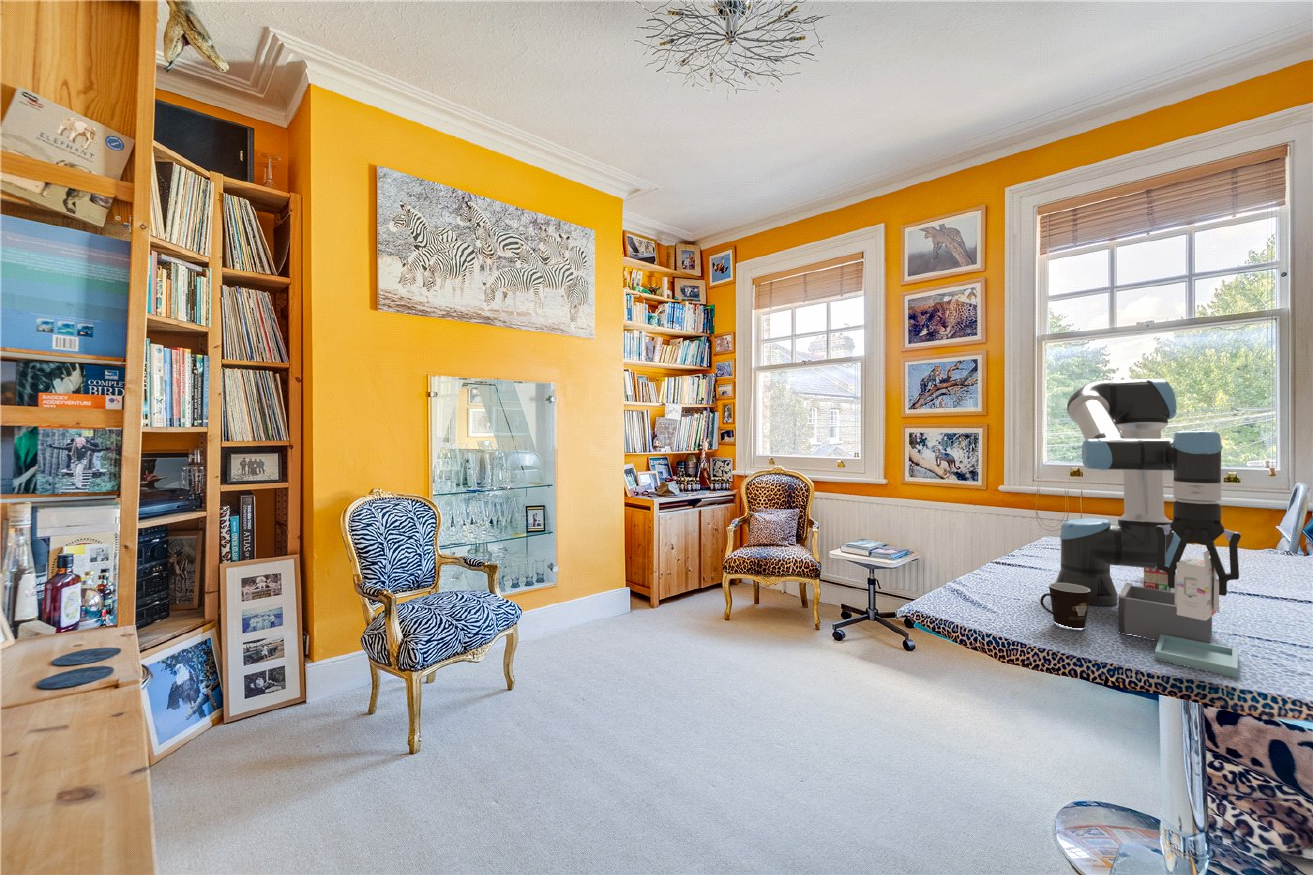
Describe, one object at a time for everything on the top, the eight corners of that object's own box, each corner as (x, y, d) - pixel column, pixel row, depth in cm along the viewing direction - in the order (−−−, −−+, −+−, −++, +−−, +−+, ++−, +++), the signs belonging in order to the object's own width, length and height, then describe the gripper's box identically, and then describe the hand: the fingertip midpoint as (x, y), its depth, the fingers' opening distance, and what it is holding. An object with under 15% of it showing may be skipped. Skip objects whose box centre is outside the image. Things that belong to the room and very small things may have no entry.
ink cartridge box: (1186, 607, 127) (1187, 543, 126) (1216, 613, 123) (1218, 547, 122) (1174, 614, 122) (1175, 548, 122) (1205, 621, 118) (1207, 552, 117)
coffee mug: (1082, 622, 146) (1082, 584, 146) (1096, 633, 138) (1096, 593, 138) (1031, 617, 150) (1030, 580, 149) (1041, 629, 142) (1041, 590, 141)
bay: (1118, 633, 138) (1118, 594, 138) (1126, 618, 148) (1126, 582, 148) (1210, 651, 126) (1210, 609, 126) (1211, 634, 136) (1212, 595, 136)
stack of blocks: (1143, 576, 187) (1143, 539, 186) (1169, 579, 183) (1169, 542, 182) (1143, 591, 171) (1143, 551, 170) (1171, 595, 167) (1171, 554, 166)
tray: (1154, 659, 122) (1154, 650, 122) (1160, 642, 132) (1160, 634, 132) (1237, 678, 113) (1237, 668, 113) (1237, 657, 123) (1237, 648, 123)
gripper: (1139, 499, 126) (1139, 601, 126) (1259, 506, 112) (1259, 620, 113) (1142, 496, 131) (1142, 594, 131) (1258, 503, 118) (1258, 611, 118)
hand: (1196, 606), depth 122 cm, fingers closed on ink cartridge box, 5 cm apart
